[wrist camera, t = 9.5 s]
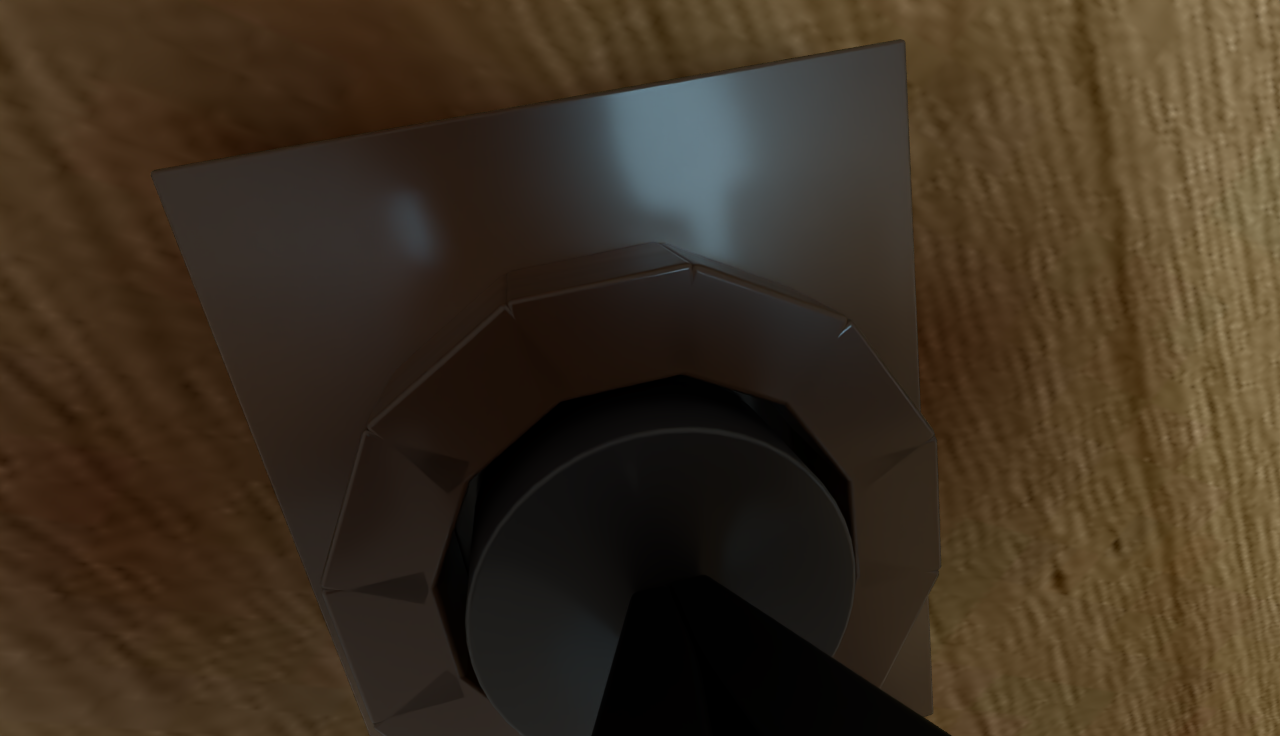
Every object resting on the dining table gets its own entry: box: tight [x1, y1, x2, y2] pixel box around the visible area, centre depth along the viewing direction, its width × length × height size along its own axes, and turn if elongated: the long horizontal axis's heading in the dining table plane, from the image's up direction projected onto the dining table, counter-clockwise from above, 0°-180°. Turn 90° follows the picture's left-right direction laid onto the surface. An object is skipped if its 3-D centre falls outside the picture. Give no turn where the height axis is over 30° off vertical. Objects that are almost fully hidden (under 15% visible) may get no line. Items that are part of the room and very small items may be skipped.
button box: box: [151, 39, 941, 736], centre depth 10 cm, size 11×9×4 cm
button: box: [465, 375, 855, 736], centre depth 9 cm, size 4×4×2 cm
